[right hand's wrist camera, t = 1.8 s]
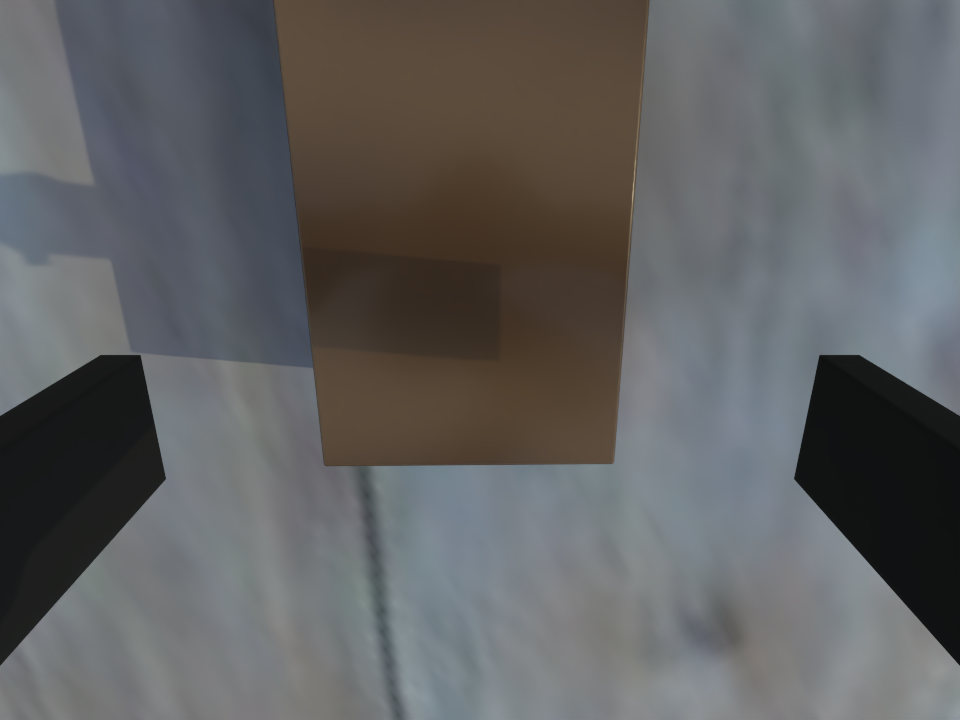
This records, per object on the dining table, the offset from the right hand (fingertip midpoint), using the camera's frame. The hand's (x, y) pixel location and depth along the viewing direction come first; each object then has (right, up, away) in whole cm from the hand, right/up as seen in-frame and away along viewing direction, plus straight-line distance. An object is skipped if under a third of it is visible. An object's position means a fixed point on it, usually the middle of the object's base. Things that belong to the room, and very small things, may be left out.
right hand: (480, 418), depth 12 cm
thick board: (-1, +31, +2) cm, 31 cm away
